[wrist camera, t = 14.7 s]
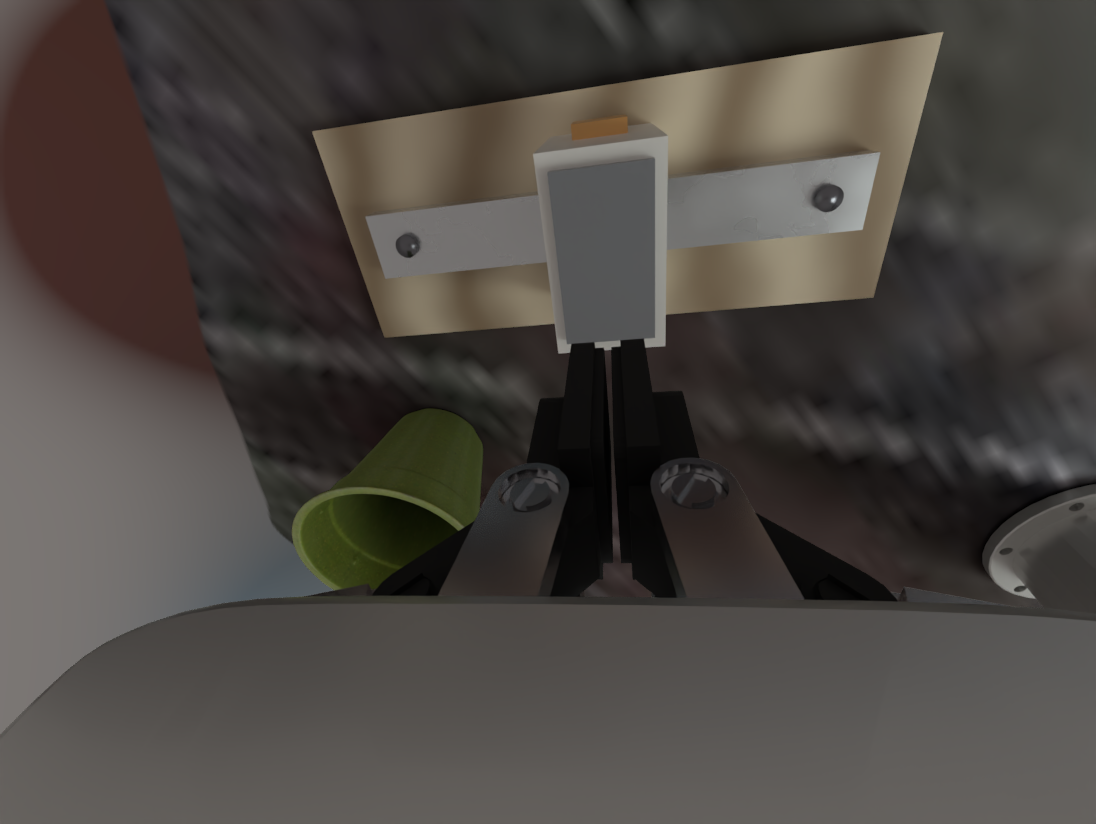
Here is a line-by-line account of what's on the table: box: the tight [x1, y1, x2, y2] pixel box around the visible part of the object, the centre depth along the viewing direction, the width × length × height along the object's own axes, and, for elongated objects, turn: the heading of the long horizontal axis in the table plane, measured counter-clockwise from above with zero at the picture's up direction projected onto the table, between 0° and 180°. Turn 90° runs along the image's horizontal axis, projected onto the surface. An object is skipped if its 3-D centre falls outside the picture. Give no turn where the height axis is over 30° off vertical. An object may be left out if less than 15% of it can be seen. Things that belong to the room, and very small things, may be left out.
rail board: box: [312, 32, 943, 338], centre depth 26 cm, size 30×12×1 cm, turn 97°
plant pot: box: [292, 408, 483, 590], centre depth 33 cm, size 12×12×11 cm
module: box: [533, 114, 668, 354], centre depth 23 cm, size 5×9×8 cm, turn 7°
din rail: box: [365, 149, 880, 279], centre depth 25 cm, size 26×4×2 cm, turn 97°
